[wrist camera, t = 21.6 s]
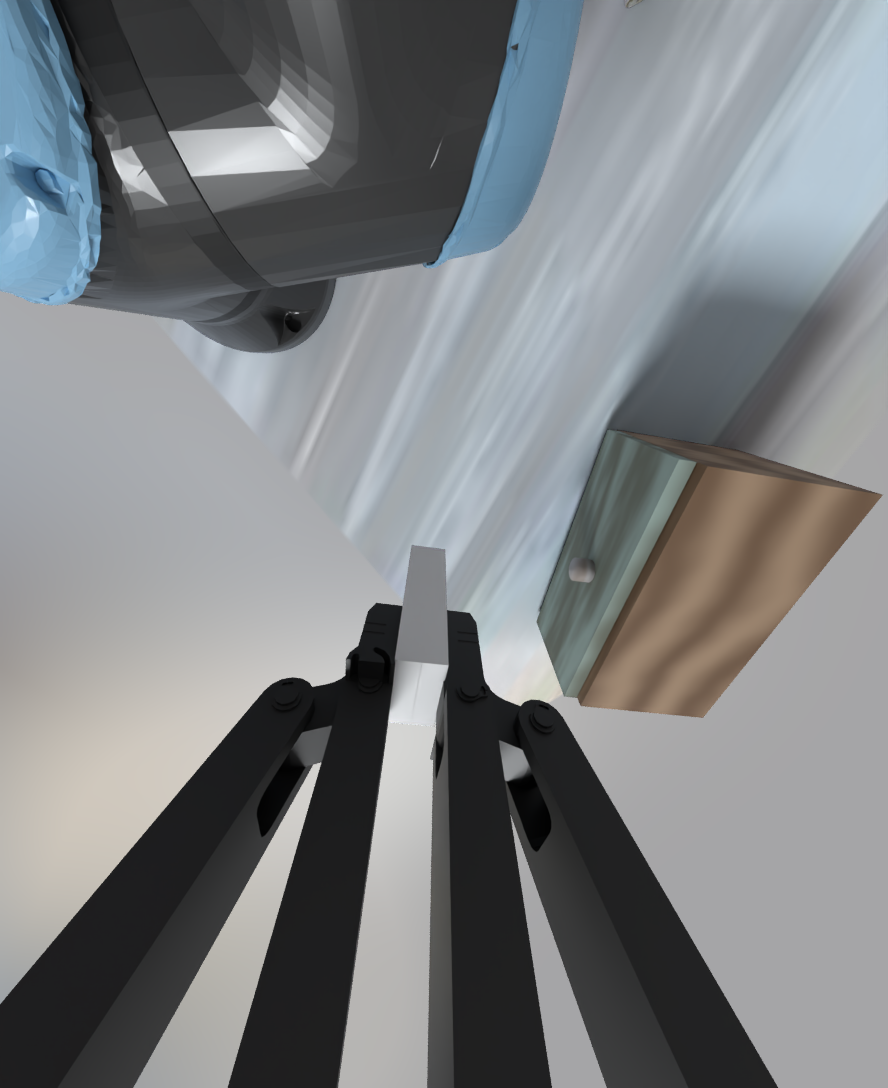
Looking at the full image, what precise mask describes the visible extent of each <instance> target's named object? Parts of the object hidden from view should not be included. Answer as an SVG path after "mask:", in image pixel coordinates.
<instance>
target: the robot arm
mask: <svg viewBox="0 0 888 1088" xmlns="http://www.w3.org/2000/svg"><path fill="white" fill-rule="evenodd" d="M583 2H584V0H0V291H2V292H8V293H12V294H14V295H16V296H18V297H22V298H24V299H26V300H27V301H29V302H33V303H43V304H47V305H61V304H66V303H68V304H75V305H82V306H89V307H96V308H103V309H110V310H117V311H124V312H131V313H138V314H145V315H151V316H158V317H165V318H172V319H179V320H183V321H185V322H186V323H188V324H189V325H190V326H192V327H193V328H194V329H196V330H197V331H199V332H200V333H202V334H203V335H205V336H206V337H208V338H210V339H212V340H214V341H215V342H217V343H220V344H222V345H224V346H227V347H230V348H233V349H236V350H240V351H245V352H254V353H275V352H281V351H285V350H288V349H291V348H293V347H295V346H297V345H299V344H301V343H302V342H304V341H305V340H306V339H308V338H309V337H310V336H311V335H312V334H313V333H314V332H315V331H316V329H317V328H318V327H319V325H320V324H321V322H322V321H323V319H324V317H325V315H326V313H327V311H328V309H329V306H330V303H331V300H332V296H333V292H334V286H335V278H338V277H344V276H350V275H356V274H362V273H368V272H374V271H380V270H386V269H392V268H398V267H404V266H410V265H416V264H423V266H424V267H426V268H436V267H438V266H439V265H441V264H443V263H444V262H445V261H447V260H449V259H453V258H458V257H462V256H467V255H471V254H476V253H480V252H485V251H488V250H491V249H493V248H495V247H497V246H498V245H500V244H501V243H502V242H503V241H504V240H505V239H506V238H507V236H508V235H509V234H511V233H512V232H513V231H514V230H515V229H516V228H517V227H518V225H519V224H520V222H521V221H522V219H523V217H524V215H525V214H526V212H527V210H528V208H529V206H530V204H531V201H532V199H533V197H534V195H535V192H536V190H537V187H538V185H539V182H540V179H541V177H542V174H543V171H544V168H545V165H546V162H547V159H548V156H549V152H550V149H551V146H552V142H553V139H554V135H555V131H556V128H557V124H558V120H559V116H560V112H561V108H562V104H563V100H564V96H565V91H566V87H567V83H568V79H569V74H570V69H571V65H572V60H573V55H574V50H575V45H576V40H577V35H578V30H579V25H580V19H581V13H582V8H583ZM388 722H390V723H402V724H414V725H425V726H435V722H436V736H435V740H434V744H433V748H432V753H431V757H430V759H431V760H433V802H432V803H433V805H432V857H431V913H430V915H431V916H430V969H429V972H430V973H429V1023H428V1024H429V1026H428V1079H427V1080H428V1081H427V1088H552V1086H551V1078H550V1072H549V1065H548V1059H547V1052H546V1046H545V1040H544V1033H543V1026H542V1019H541V1013H540V1007H539V1000H538V994H537V987H536V980H535V974H534V967H533V960H532V954H531V948H530V941H529V934H528V928H527V922H526V915H525V908H524V902H523V895H522V888H521V882H520V875H519V869H518V862H517V856H516V849H515V843H514V836H513V830H512V823H511V817H510V814H511V816H512V819H513V822H514V825H515V828H516V831H517V833H518V836H519V839H520V842H521V845H522V848H523V851H524V854H525V856H526V859H527V862H528V865H529V868H530V871H531V873H532V876H533V879H534V882H535V885H536V888H537V890H538V893H539V896H540V899H541V902H542V905H543V907H544V910H545V913H546V916H547V919H548V922H549V925H550V927H551V930H552V933H553V936H554V939H555V942H556V944H557V947H558V950H559V953H560V955H561V958H562V961H563V964H564V967H565V970H566V973H567V976H568V978H569V981H570V984H571V987H572V990H573V993H574V996H575V998H576V1001H577V1004H578V1006H579V1010H580V1012H581V1015H582V1018H583V1021H584V1024H585V1027H586V1030H587V1032H588V1035H589V1038H590V1040H591V1044H592V1047H593V1049H594V1052H595V1055H596V1058H597V1060H598V1064H599V1066H600V1069H601V1072H602V1075H603V1078H604V1081H605V1083H606V1086H607V1088H778V1087H777V1085H776V1083H775V1082H774V1080H773V1078H772V1076H771V1075H770V1073H769V1071H768V1070H767V1068H766V1066H765V1064H764V1063H763V1061H762V1059H761V1058H760V1056H759V1054H758V1053H757V1051H756V1049H755V1047H754V1045H753V1044H752V1042H751V1040H750V1039H749V1037H748V1035H747V1033H746V1032H745V1030H744V1028H743V1027H742V1025H741V1023H740V1021H739V1020H738V1018H737V1016H736V1015H735V1013H734V1011H733V1009H732V1008H731V1006H730V1004H729V1002H728V1001H727V999H726V997H725V996H724V994H723V992H722V991H721V989H720V987H719V985H718V984H717V982H716V980H715V979H714V977H713V975H712V973H711V972H710V970H709V968H708V966H707V965H706V963H705V961H704V959H703V958H702V956H701V954H700V953H699V951H698V949H697V947H696V946H695V944H694V942H693V941H692V939H691V937H690V935H689V934H688V932H687V930H686V929H685V927H684V925H683V923H682V922H681V920H680V918H679V917H678V915H677V913H676V911H675V910H674V908H673V906H672V904H671V903H670V901H669V899H668V898H667V896H666V894H665V892H664V891H663V889H662V887H661V886H660V884H659V882H658V880H657V879H656V877H655V875H654V874H653V872H652V870H651V868H650V867H649V865H648V863H647V861H646V860H645V858H644V856H643V855H642V853H641V851H640V849H639V848H638V846H637V844H636V843H635V841H634V839H633V837H632V836H631V834H630V832H629V830H628V829H627V827H626V825H625V824H624V822H623V820H622V819H621V817H620V815H619V813H618V812H617V810H616V808H615V806H614V805H613V803H612V801H611V800H610V798H609V796H608V795H607V793H606V791H605V789H604V787H603V786H602V784H601V782H600V781H599V779H598V777H597V775H596V774H595V772H594V770H593V769H592V767H591V765H590V763H589V762H588V760H587V758H586V757H585V755H584V753H583V752H582V750H581V748H580V746H579V745H578V743H577V741H576V739H575V738H574V736H573V734H572V732H571V731H570V729H569V727H568V726H567V724H566V722H565V721H564V719H563V717H562V716H561V715H560V713H559V712H558V711H557V710H556V709H555V708H554V707H552V706H551V705H550V704H548V703H545V702H543V701H540V700H529V701H526V702H524V703H523V704H522V705H521V706H518V705H516V704H513V703H511V702H508V701H506V700H504V699H502V698H500V697H498V696H497V695H495V694H494V693H493V692H492V691H491V690H490V688H489V686H488V685H487V684H486V682H485V679H484V675H483V668H482V661H481V654H480V646H479V639H478V632H477V625H476V622H475V620H474V619H473V617H472V616H471V614H470V613H466V612H457V611H448V610H447V595H446V562H445V549H437V548H430V547H422V546H415V545H412V547H411V553H410V560H409V567H408V573H407V580H406V587H405V594H404V600H403V606H398V605H389V604H381V603H376V604H375V605H374V606H373V607H372V608H371V609H370V610H369V611H368V614H367V617H366V621H365V624H364V628H363V632H362V635H361V639H360V642H359V646H358V647H356V648H355V649H354V650H352V651H351V652H350V653H349V655H348V657H347V658H346V676H344V677H343V678H342V679H340V680H338V681H336V682H333V683H330V684H326V685H321V686H316V687H312V686H311V685H310V683H309V682H307V681H305V680H304V679H301V678H286V679H282V680H279V681H277V682H275V683H273V684H272V685H270V686H269V687H268V688H267V689H266V690H265V691H264V692H263V693H262V694H261V695H260V696H259V698H258V699H257V700H256V701H255V702H254V704H253V705H252V706H251V707H250V708H249V710H248V711H247V712H246V713H245V714H244V716H243V717H242V718H241V719H240V720H239V721H238V723H237V724H236V725H235V726H234V727H233V729H232V730H231V731H230V732H229V733H228V734H227V736H226V737H225V738H224V739H223V740H222V742H221V743H220V744H219V745H218V747H217V748H216V749H215V750H214V751H213V752H212V753H211V755H210V756H209V757H208V758H207V759H206V761H205V762H204V763H203V764H202V765H201V767H200V768H199V769H198V770H197V771H196V773H195V774H194V775H193V776H192V777H191V779H190V780H189V781H188V782H187V783H186V784H185V786H184V787H183V788H182V789H181V790H180V791H179V793H178V794H177V795H176V796H175V798H174V799H173V800H172V801H171V802H170V803H169V805H168V806H167V807H166V808H165V809H164V811H163V812H162V813H161V814H160V815H159V816H158V818H157V819H156V820H155V821H154V822H153V824H152V825H151V826H150V827H149V828H148V830H147V831H146V832H145V833H144V834H143V835H142V837H141V838H140V839H139V840H138V841H137V843H136V844H135V845H134V846H133V847H132V848H131V850H130V851H129V852H128V853H127V855H126V856H125V857H124V858H123V859H122V860H121V862H120V863H119V864H118V865H117V866H116V867H115V869H114V870H113V871H112V872H111V873H110V875H109V876H108V877H107V878H106V879H105V881H104V882H103V883H102V884H101V885H100V886H99V888H98V889H97V890H96V891H95V892H94V894H93V895H92V896H91V897H90V898H89V900H88V901H87V902H86V903H85V904H84V905H83V907H82V908H81V909H80V910H79V911H78V913H77V914H76V915H75V916H74V917H73V919H72V920H71V921H70V922H69V923H68V924H67V926H66V927H65V928H64V929H63V930H62V932H61V933H60V934H59V935H58V936H57V938H56V939H55V940H54V941H53V942H52V944H51V945H50V946H49V947H48V948H47V949H46V951H45V952H44V953H43V954H42V955H41V957H40V958H39V959H38V960H37V961H36V962H35V964H34V965H33V966H32V967H31V969H30V970H29V971H28V972H27V973H26V974H25V976H24V977H23V978H22V979H21V980H20V981H19V983H18V984H17V985H16V986H15V987H14V989H13V990H12V991H11V992H10V993H9V994H8V996H7V997H6V998H5V1000H4V1001H3V1002H2V1003H1V1004H0V1088H133V1087H134V1085H135V1083H136V1082H137V1080H138V1078H139V1076H140V1075H141V1073H142V1071H143V1069H144V1067H145V1065H146V1064H147V1062H148V1060H149V1058H150V1057H151V1055H152V1053H153V1051H154V1049H155V1048H156V1046H157V1044H158V1042H159V1040H160V1038H161V1037H162V1035H163V1033H164V1031H165V1030H166V1028H167V1026H168V1024H169V1022H170V1020H171V1019H172V1017H173V1015H174V1014H175V1012H176V1010H177V1008H178V1006H179V1005H180V1002H181V1001H182V999H183V997H184V996H185V994H186V992H187V990H188V988H189V986H190V985H191V983H192V981H193V979H194V978H195V976H196V974H197V972H198V970H199V969H200V967H201V965H202V963H203V961H204V960H205V958H206V956H207V954H208V952H209V951H210V949H211V947H212V945H213V944H214V942H215V940H216V938H217V936H218V935H219V933H220V931H221V929H222V927H223V926H224V924H225V922H226V920H227V918H228V917H229V915H230V913H231V911H232V909H233V908H234V906H235V904H236V902H237V900H238V899H239V897H240V895H241V893H242V891H243V890H244V888H245V886H246V884H247V883H248V881H249V879H250V877H251V875H252V874H253V872H254V870H255V868H256V866H257V865H258V863H259V861H260V859H261V857H262V856H263V854H264V852H265V850H266V848H267V846H268V845H269V843H270V841H271V839H272V838H273V836H274V834H275V832H276V830H277V829H278V827H279V825H280V823H281V821H282V820H283V818H284V816H285V814H286V813H287V811H288V809H289V807H290V805H291V804H292V802H293V800H294V798H295V796H296V794H297V793H298V791H299V789H300V787H301V785H302V784H303V782H304V780H305V778H306V777H307V775H308V773H309V771H310V769H311V768H312V766H313V764H317V763H320V762H322V763H321V767H320V770H319V773H318V777H317V780H316V784H315V787H314V791H313V794H312V798H311V801H310V805H309V808H308V811H307V815H306V818H305V822H304V825H303V829H302V832H301V836H300V839H299V842H298V846H297V849H296V853H295V856H294V860H293V863H292V867H291V870H290V874H289V878H288V881H287V884H286V888H285V891H284V895H283V898H282V901H281V905H280V908H279V912H278V915H277V919H276V923H275V926H274V930H273V933H272V936H271V939H270V943H269V947H268V950H267V953H266V957H265V960H264V964H263V967H262V971H261V974H260V978H259V981H258V985H257V988H256V991H255V995H254V999H253V1002H252V1005H251V1009H250V1012H249V1016H248V1019H247V1023H246V1026H245V1030H244V1033H243V1037H242V1040H241V1043H240V1047H239V1050H238V1054H237V1057H236V1061H235V1064H234V1068H233V1071H232V1075H231V1078H230V1081H229V1085H228V1088H338V1082H339V1076H340V1069H341V1062H342V1054H343V1046H344V1039H345V1032H346V1025H347V1018H348V1010H349V1003H350V996H351V989H352V982H353V974H354V967H355V960H356V952H357V945H358V938H359V931H360V924H361V916H362V909H363V902H364V894H365V887H366V879H367V873H368V865H369V858H370V851H371V844H372V836H373V829H374V822H375V814H376V807H377V800H378V793H379V785H380V778H381V771H382V763H383V756H384V749H385V742H386V734H387V727H388Z"/></svg>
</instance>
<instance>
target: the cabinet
mask: <svg viewBox="0 0 888 1088" xmlns="http://www.w3.org/2000/svg"><path fill="white" fill-rule="evenodd" d="M617 431H621V430H617ZM621 432H623V433H626V434H628V435H631V436H633V437H636V438H638V439H641V440H643V441H646V442H648V443H650V444H653V445H655V446H658V447H660V448H663V449H665V450H668V451H670V452H673V453H675V454H678V455H680V456H683V457H685V458H688V459H690V460H693V461H695V462H697V463H696V465H695V467H694V469H693V471H692V473H691V475H690V477H689V479H688V481H687V483H686V485H685V487H684V489H683V491H682V492H681V494H680V496H679V498H678V500H677V502H676V504H675V506H674V508H673V510H672V512H671V514H670V516H669V518H668V520H667V522H666V524H665V526H664V528H663V530H662V532H661V534H660V535H659V537H658V539H657V541H656V543H655V545H654V547H653V549H652V551H651V553H650V555H649V557H648V559H647V561H646V563H645V565H644V567H643V569H642V571H641V573H640V575H639V577H638V578H637V580H636V582H635V584H634V586H633V588H632V590H631V592H630V594H629V596H628V598H627V600H626V602H625V604H624V606H623V608H622V610H621V612H620V614H619V616H618V618H617V620H616V622H615V623H614V625H613V627H612V629H611V631H610V633H609V635H608V637H607V639H606V641H605V643H604V645H603V647H602V649H601V651H600V653H599V655H598V657H597V659H596V661H595V663H594V665H593V666H592V668H591V670H590V672H589V674H588V676H587V678H586V680H585V682H584V684H583V686H582V688H581V690H580V692H579V694H578V696H577V698H578V700H579V703H580V705H581V706H587V707H597V708H607V709H618V710H628V711H638V712H649V713H659V714H670V715H681V716H691V717H701V718H703V717H704V716H705V714H706V713H707V712H708V711H709V710H710V708H711V707H712V706H713V705H714V703H715V702H716V701H717V700H718V698H719V697H720V696H721V694H722V693H723V692H724V691H725V690H726V689H727V687H728V686H729V684H730V683H731V682H732V681H733V680H734V678H735V677H736V676H737V675H738V674H739V672H740V671H741V670H742V669H743V667H744V666H745V665H746V664H747V662H748V661H749V660H750V659H751V657H752V656H753V655H754V654H755V653H756V651H757V650H758V649H759V648H760V646H761V645H762V644H763V643H764V641H765V640H766V639H767V638H768V636H769V635H770V634H771V633H772V631H773V630H774V629H775V628H776V627H777V625H778V624H779V623H780V622H781V620H782V619H783V618H784V617H785V615H786V614H787V613H788V612H789V610H790V609H791V608H792V607H793V605H794V604H795V603H796V602H797V601H798V599H799V598H800V597H801V595H802V594H803V593H804V592H805V591H806V589H807V588H808V587H809V585H810V584H811V583H812V582H813V581H814V579H815V578H816V577H817V576H818V575H819V573H820V572H821V571H822V570H823V568H824V567H825V566H826V564H827V563H828V562H829V561H830V559H831V558H832V557H833V556H834V555H835V553H836V552H837V551H838V550H839V548H840V547H841V546H842V545H843V544H844V542H845V541H846V540H847V539H848V537H849V536H850V535H851V534H852V532H853V531H854V530H855V529H856V527H857V526H858V525H859V524H860V522H861V521H862V520H863V519H864V517H865V516H866V515H867V514H868V513H869V511H870V510H871V509H872V508H873V506H874V505H875V504H876V502H877V501H878V500H879V499H880V498H881V496H882V495H881V494H878V493H875V492H872V491H868V490H865V489H862V488H859V487H855V486H852V485H849V484H846V483H842V482H839V481H836V480H833V479H829V478H826V477H823V476H820V475H816V474H813V473H810V472H807V471H804V470H800V469H797V468H794V467H791V466H787V465H784V464H781V463H778V462H774V461H771V460H768V459H765V458H761V457H758V456H755V455H752V454H748V453H745V452H742V451H739V450H733V449H728V448H722V447H716V446H710V445H704V444H698V443H692V442H686V441H680V440H674V439H668V438H663V437H657V436H651V435H645V434H639V433H633V432H627V431H621Z"/></svg>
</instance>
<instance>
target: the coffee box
mask: <svg viewBox="0 0 888 1088" xmlns="http://www.w3.org/2000/svg"><path fill="white" fill-rule="evenodd" d="M624 1H625V6H626V7H627V8H630V7H632V6H634V5H636V4H637V3H639V2H641V1H643V0H624Z"/></svg>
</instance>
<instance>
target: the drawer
mask: <svg viewBox="0 0 888 1088" xmlns="http://www.w3.org/2000/svg"><path fill="white" fill-rule="evenodd" d="M696 463H697V462H695V461H693V460H690V459H688V458H685V457H683V456H680V455H678V454H675V453H673V452H670V451H668V450H665V449H663V448H660V447H658V446H655V445H653V444H650V443H648V442H646V441H643V440H641V439H638V438H636V437H633V436H631V435H628V434H626V433H623V432H621V431H615V430H609V429H608V430H607V432H606V435H605V438H604V441H603V443H602V446H601V449H600V451H599V454H598V457H597V459H596V462H595V465H594V468H593V470H592V473H591V476H590V478H589V481H588V484H587V486H586V489H585V492H584V495H583V497H582V500H581V503H580V505H579V508H578V511H577V513H576V516H575V519H574V522H573V524H572V527H571V530H570V532H569V535H568V538H567V540H566V543H565V546H564V549H563V551H562V554H561V557H560V559H559V562H558V565H557V567H556V570H555V573H554V576H553V578H552V581H551V584H550V586H549V589H548V592H547V595H546V597H545V600H544V603H543V605H542V608H541V611H540V613H539V616H538V619H537V624H538V627H539V630H540V632H541V635H542V638H543V640H544V643H545V646H546V649H547V651H548V654H549V657H550V659H551V662H552V665H553V667H554V670H555V673H556V676H557V678H558V681H559V684H560V686H561V689H562V692H563V695H564V696H566V697H575V698H577V696H578V694H579V692H580V690H581V688H582V686H583V684H584V682H585V680H586V678H587V676H588V674H589V672H590V670H591V668H592V666H593V665H594V663H595V661H596V659H597V657H598V655H599V653H600V651H601V649H602V647H603V645H604V643H605V641H606V639H607V637H608V635H609V633H610V631H611V629H612V627H613V625H614V623H615V622H616V620H617V618H618V616H619V614H620V612H621V610H622V608H623V606H624V604H625V602H626V600H627V598H628V596H629V594H630V592H631V590H632V588H633V586H634V584H635V582H636V580H637V578H638V577H639V575H640V573H641V571H642V569H643V567H644V565H645V563H646V561H647V559H648V557H649V555H650V553H651V551H652V549H653V547H654V545H655V543H656V541H657V539H658V537H659V535H660V534H661V532H662V530H663V528H664V526H665V524H666V522H667V520H668V518H669V516H670V514H671V512H672V510H673V508H674V506H675V504H676V502H677V500H678V498H679V496H680V494H681V492H682V491H683V489H684V487H685V485H686V483H687V481H688V479H689V477H690V475H691V473H692V471H693V469H694V467H695V465H696Z"/></svg>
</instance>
